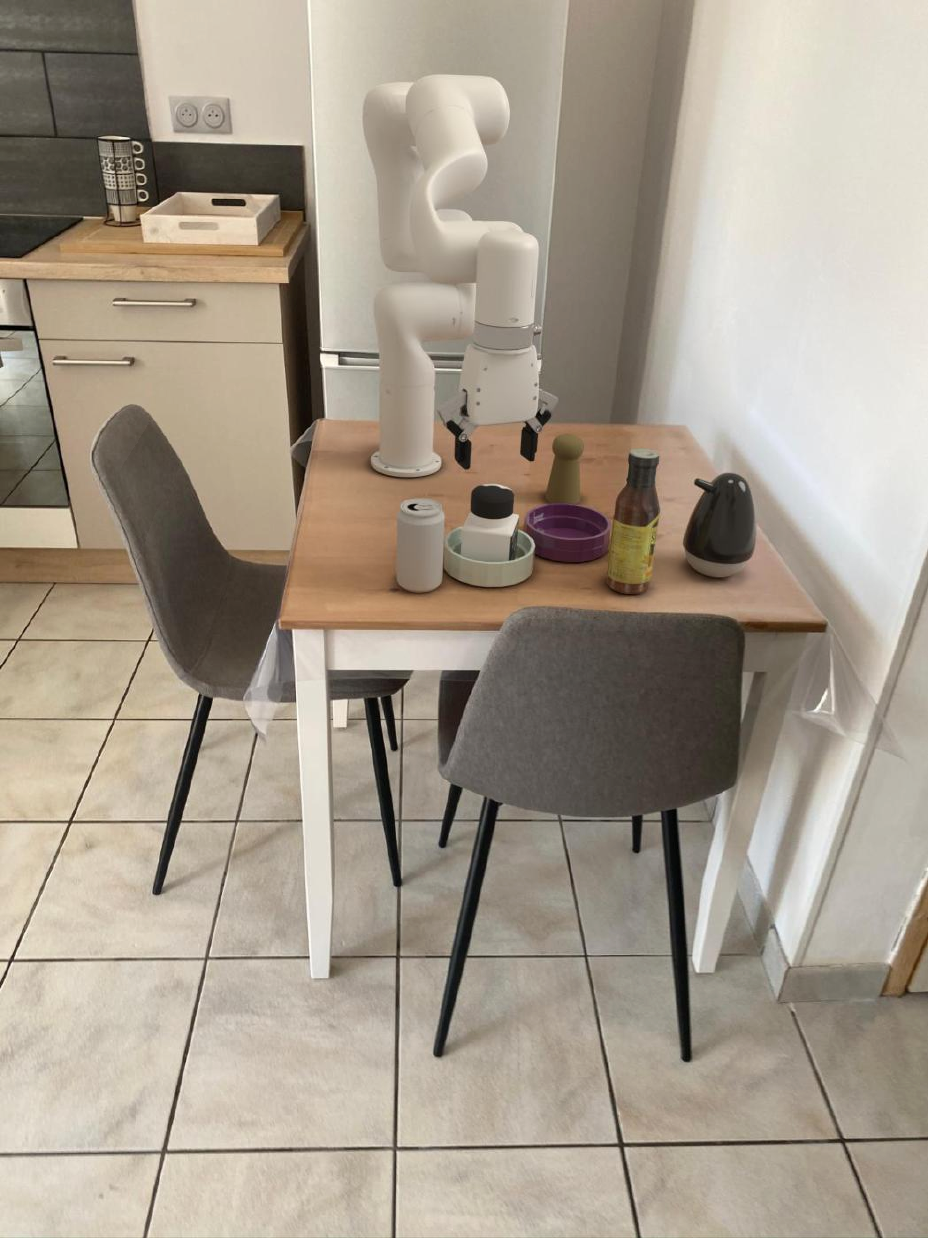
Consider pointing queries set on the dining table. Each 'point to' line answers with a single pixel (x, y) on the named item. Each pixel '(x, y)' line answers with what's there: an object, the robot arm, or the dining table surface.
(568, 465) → the olive chess pawn
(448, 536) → the pale bowl
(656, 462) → the sauce bottle
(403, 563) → the beverage can
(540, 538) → the plum bowl
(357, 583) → the dining table surface
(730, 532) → the pump dispenser
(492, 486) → the medicine bottle
